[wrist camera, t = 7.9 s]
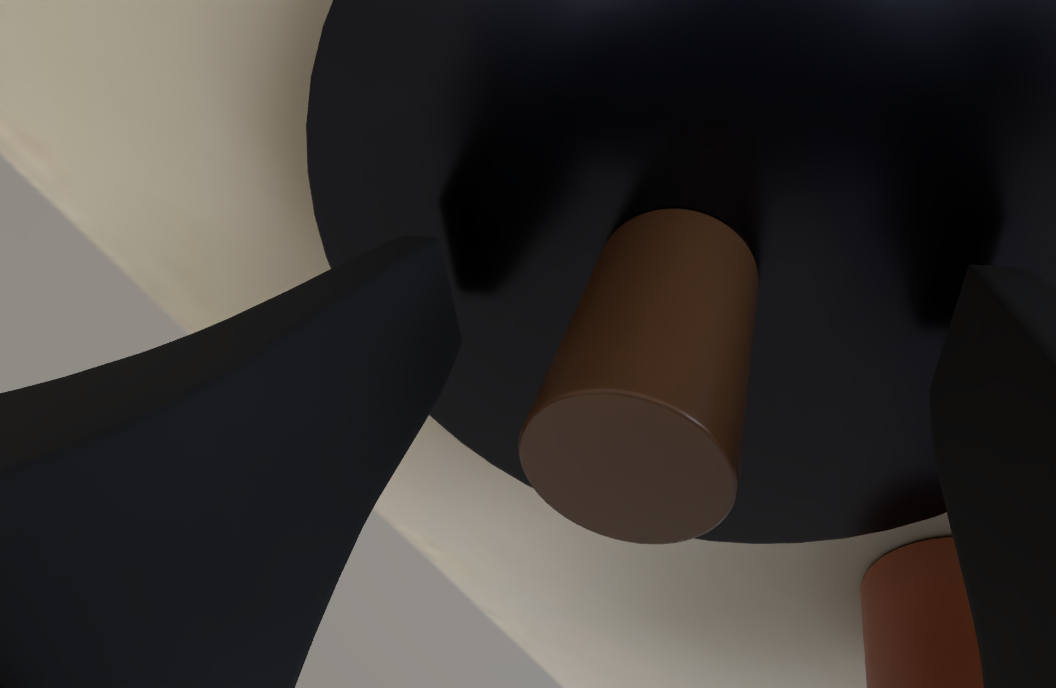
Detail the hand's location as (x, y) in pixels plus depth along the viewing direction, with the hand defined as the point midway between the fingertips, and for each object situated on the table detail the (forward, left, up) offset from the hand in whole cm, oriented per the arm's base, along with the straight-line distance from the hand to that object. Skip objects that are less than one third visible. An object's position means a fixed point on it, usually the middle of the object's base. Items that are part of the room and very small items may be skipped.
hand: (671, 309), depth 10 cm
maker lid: (0, 0, -1) cm, 1 cm away
